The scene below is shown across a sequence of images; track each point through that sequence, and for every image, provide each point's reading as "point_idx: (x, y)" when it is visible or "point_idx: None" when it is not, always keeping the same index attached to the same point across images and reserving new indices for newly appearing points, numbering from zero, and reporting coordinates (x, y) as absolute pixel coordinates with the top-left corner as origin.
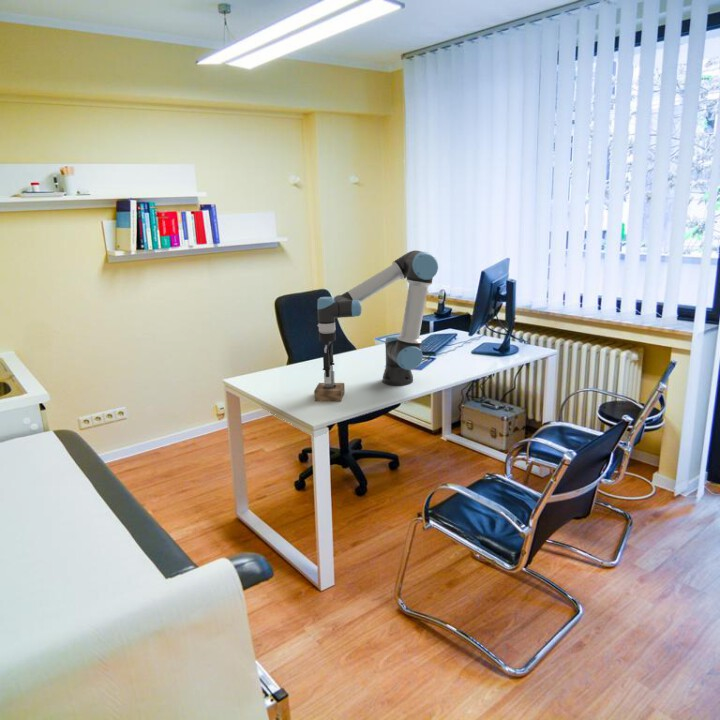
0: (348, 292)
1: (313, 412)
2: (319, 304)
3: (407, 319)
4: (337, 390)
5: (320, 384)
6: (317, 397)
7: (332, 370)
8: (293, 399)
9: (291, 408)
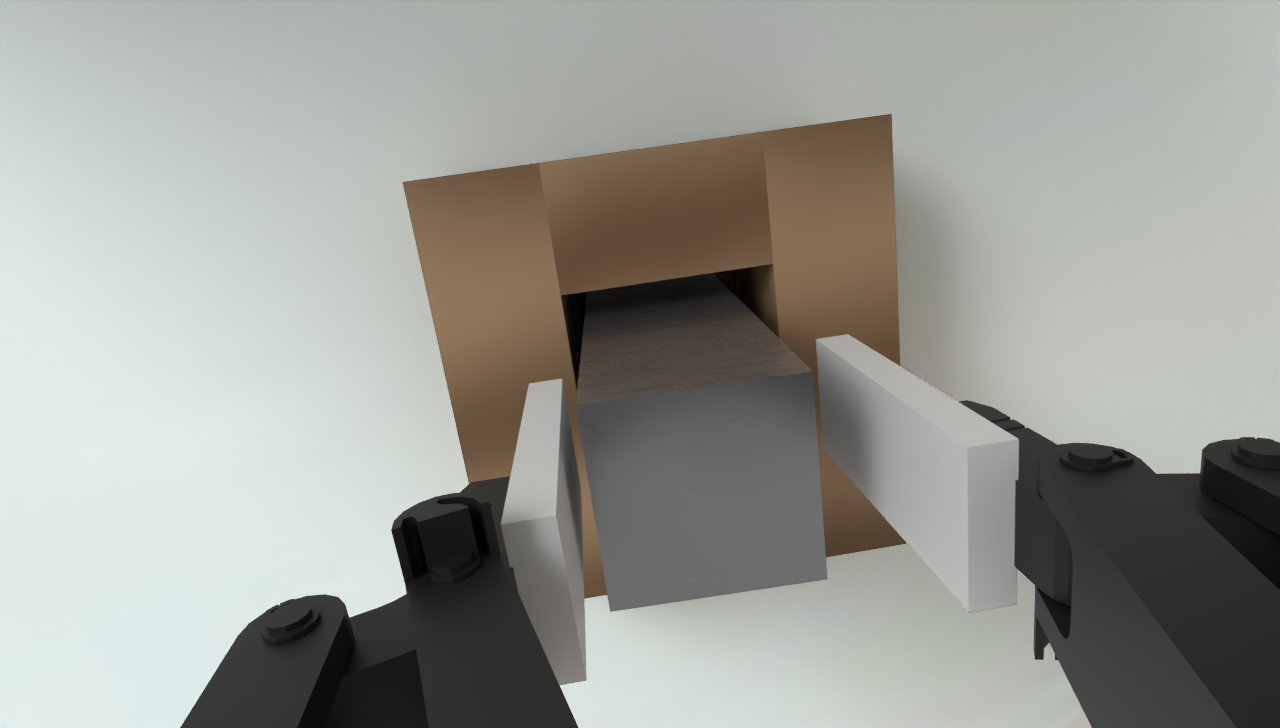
0: None
1: (1207, 360)
2: None
3: None
4: (873, 180)
5: (583, 561)
6: None
7: (560, 461)
8: (783, 720)
9: None
